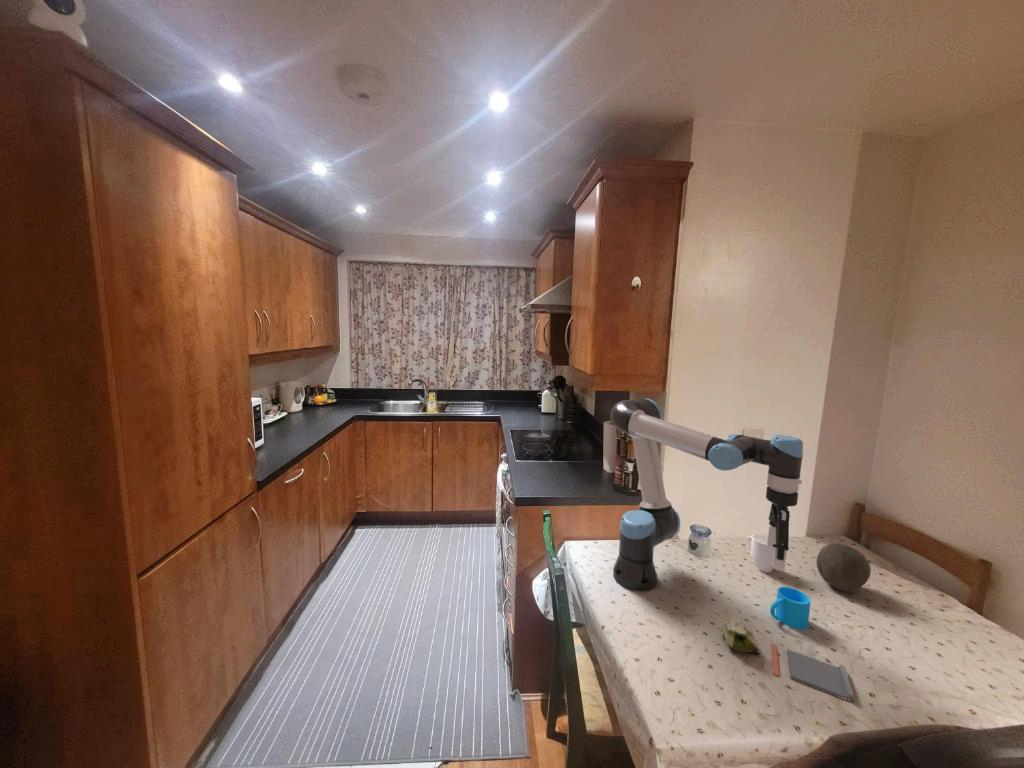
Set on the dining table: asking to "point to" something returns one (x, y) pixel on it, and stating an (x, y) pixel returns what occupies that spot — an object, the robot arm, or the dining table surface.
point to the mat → (820, 675)
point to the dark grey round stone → (843, 567)
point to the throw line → (775, 660)
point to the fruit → (739, 637)
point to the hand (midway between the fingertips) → (775, 557)
